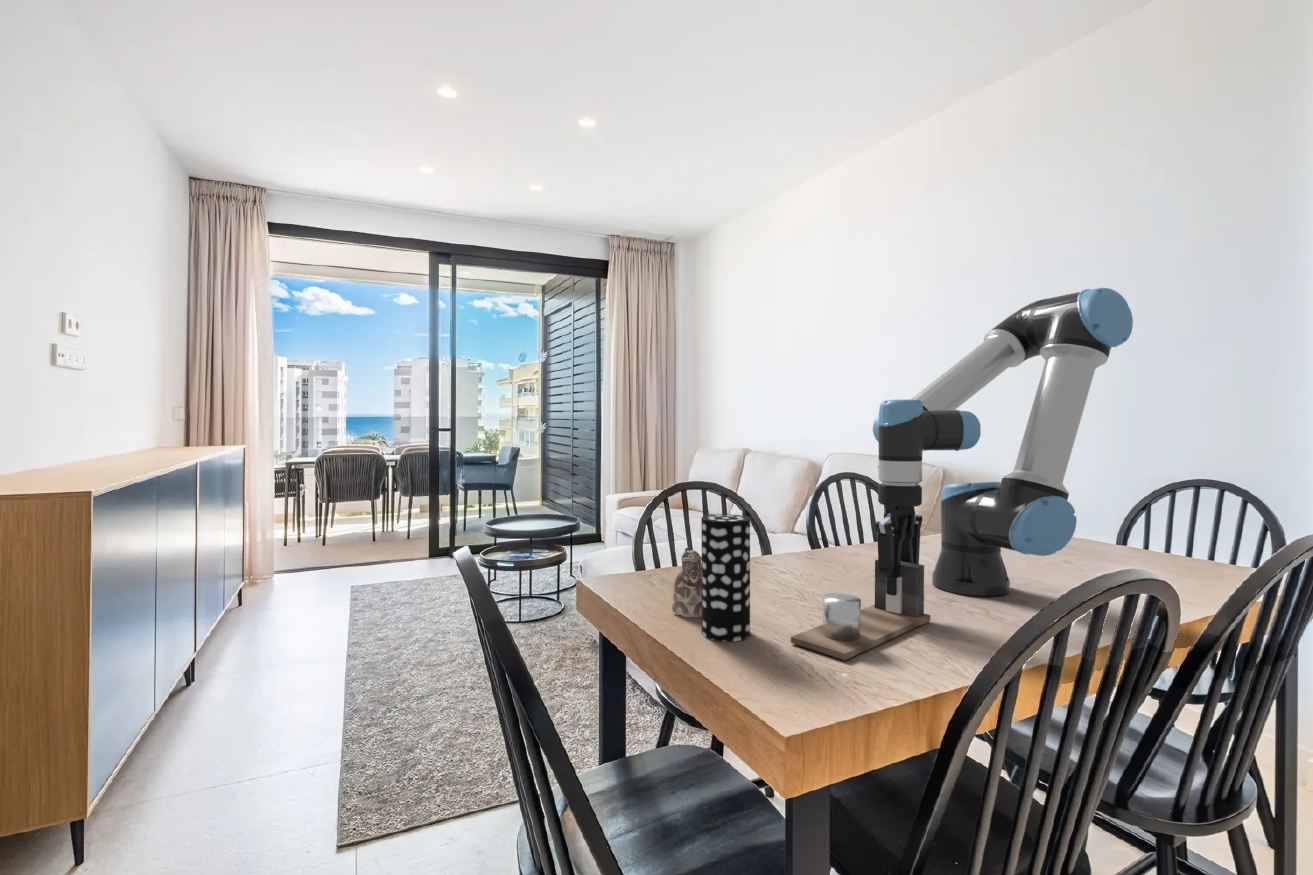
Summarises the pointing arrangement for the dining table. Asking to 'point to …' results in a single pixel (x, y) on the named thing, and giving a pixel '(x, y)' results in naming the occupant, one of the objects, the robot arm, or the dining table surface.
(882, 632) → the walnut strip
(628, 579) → the dining table surface
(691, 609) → the figurine
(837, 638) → the steel tin
